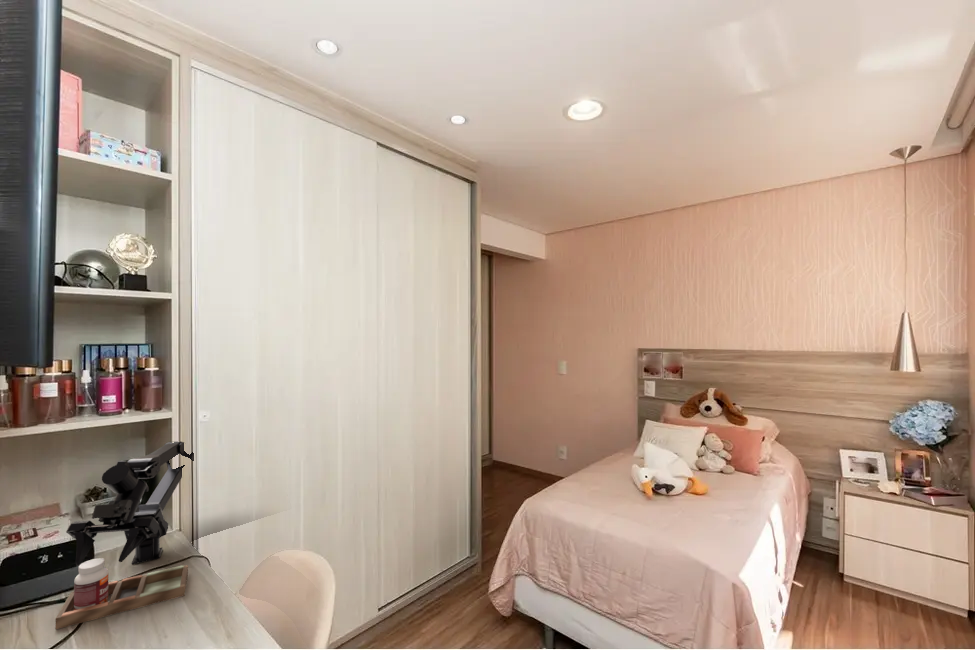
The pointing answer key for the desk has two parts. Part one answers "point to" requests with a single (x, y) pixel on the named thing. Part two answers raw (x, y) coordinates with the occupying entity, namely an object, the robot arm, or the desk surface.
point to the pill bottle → (91, 584)
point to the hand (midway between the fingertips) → (98, 563)
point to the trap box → (129, 595)
